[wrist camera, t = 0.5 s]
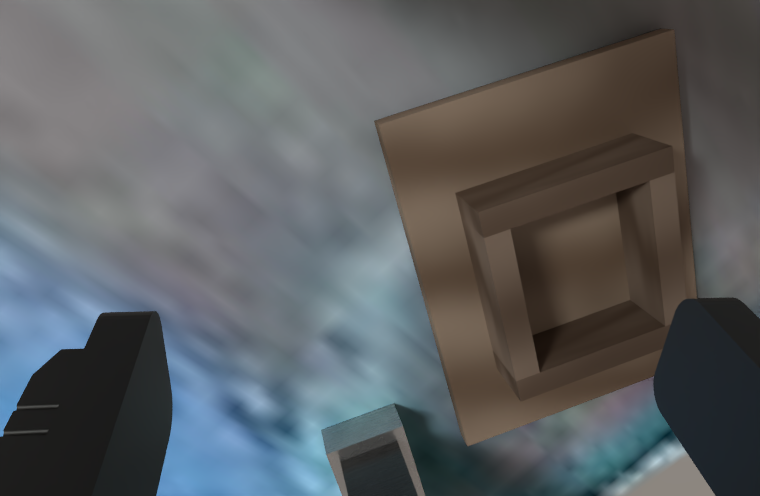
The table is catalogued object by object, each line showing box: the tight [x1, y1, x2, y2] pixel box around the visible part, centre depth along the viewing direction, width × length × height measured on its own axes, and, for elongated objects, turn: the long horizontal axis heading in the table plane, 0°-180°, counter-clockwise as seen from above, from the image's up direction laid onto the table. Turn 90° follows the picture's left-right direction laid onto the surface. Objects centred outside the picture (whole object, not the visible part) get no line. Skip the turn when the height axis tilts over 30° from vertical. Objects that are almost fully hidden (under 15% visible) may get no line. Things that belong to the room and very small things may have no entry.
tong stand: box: [374, 29, 697, 446], centre depth 31 cm, size 18×14×4 cm
